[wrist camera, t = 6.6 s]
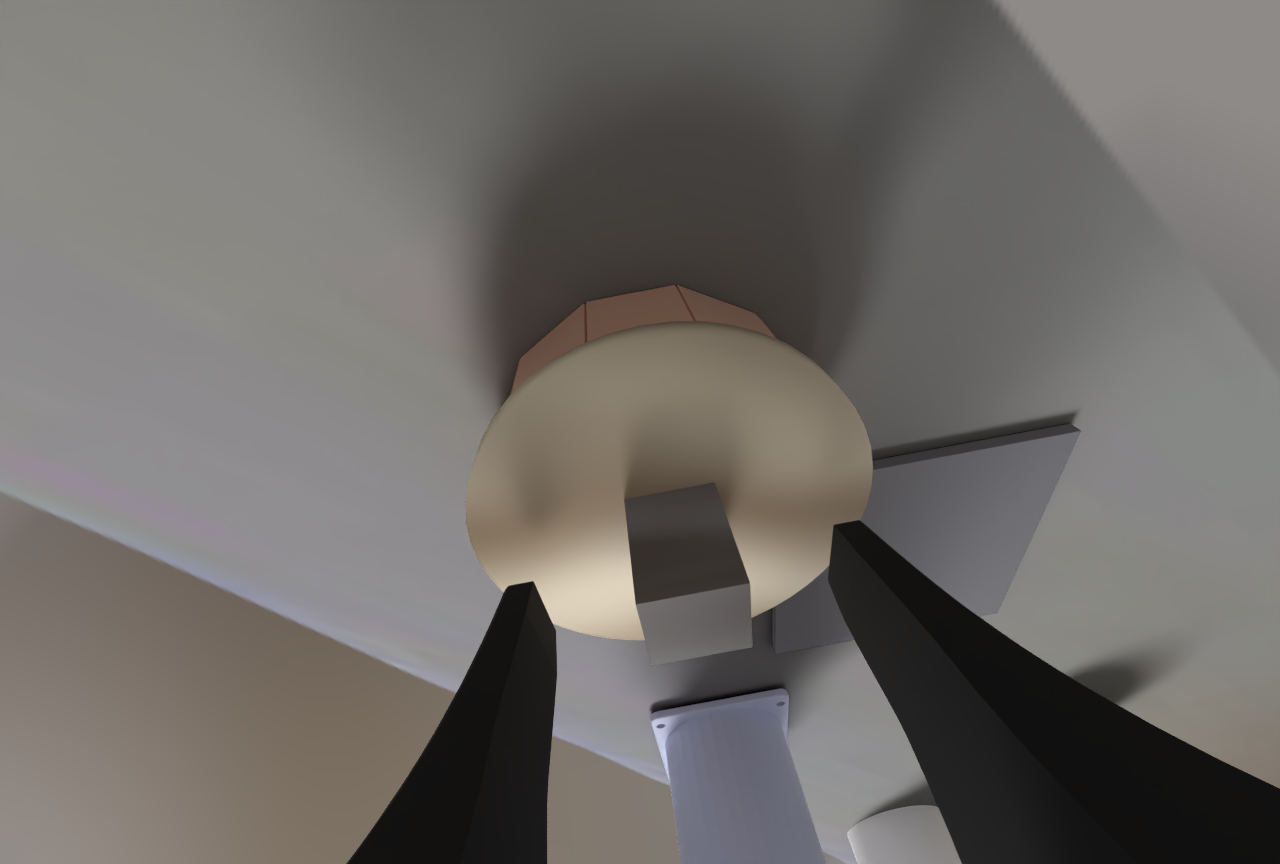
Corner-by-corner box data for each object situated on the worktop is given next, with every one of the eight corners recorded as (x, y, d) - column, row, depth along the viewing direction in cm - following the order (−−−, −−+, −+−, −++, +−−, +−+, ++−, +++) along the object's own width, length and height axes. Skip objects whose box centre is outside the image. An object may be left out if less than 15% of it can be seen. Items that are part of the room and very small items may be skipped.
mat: (990, 604, 25) (997, 613, 25) (771, 645, 25) (775, 654, 25) (1069, 423, 18) (1081, 430, 18) (772, 479, 18) (777, 487, 18)
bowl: (792, 508, 20) (828, 578, 17) (550, 554, 20) (545, 632, 17) (801, 260, 14) (859, 302, 11) (460, 325, 14) (428, 383, 11)
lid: (841, 586, 17) (904, 702, 14) (536, 643, 17) (525, 772, 14) (883, 278, 11) (1018, 356, 7) (398, 371, 11) (318, 489, 7)
